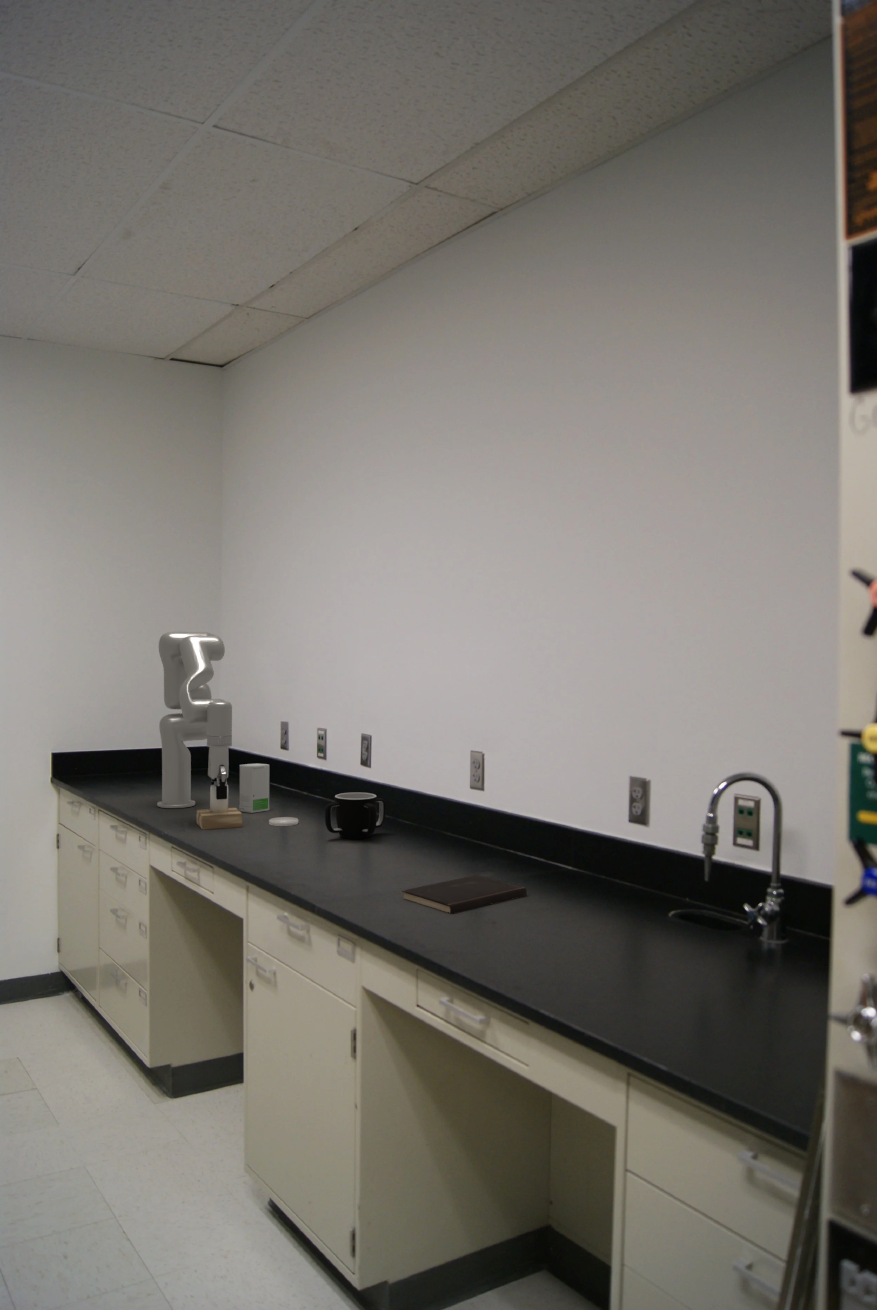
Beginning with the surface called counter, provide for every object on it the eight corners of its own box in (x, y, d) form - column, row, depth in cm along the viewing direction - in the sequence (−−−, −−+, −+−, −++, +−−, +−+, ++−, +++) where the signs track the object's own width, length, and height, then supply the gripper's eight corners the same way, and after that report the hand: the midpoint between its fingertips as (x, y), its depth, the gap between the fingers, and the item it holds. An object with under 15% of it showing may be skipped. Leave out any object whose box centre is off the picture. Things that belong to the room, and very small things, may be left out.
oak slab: (196, 822, 303) (196, 809, 303) (235, 820, 307) (235, 807, 307) (202, 829, 292) (202, 816, 292) (242, 826, 296) (242, 813, 296)
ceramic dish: (266, 822, 304) (266, 818, 304) (294, 820, 308) (294, 816, 308) (272, 827, 296) (272, 823, 296) (301, 825, 299) (301, 821, 299)
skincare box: (251, 813, 319) (251, 766, 319) (237, 811, 323) (238, 764, 323) (270, 810, 326) (270, 763, 326) (256, 808, 330) (257, 762, 330)
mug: (390, 833, 288) (391, 792, 288) (372, 843, 273) (373, 801, 272) (339, 829, 292) (339, 790, 292) (318, 840, 277) (318, 798, 277)
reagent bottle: (208, 810, 301) (209, 780, 301) (226, 809, 303) (226, 780, 303) (211, 813, 296) (211, 783, 296) (229, 812, 298) (229, 782, 298)
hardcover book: (402, 900, 215) (402, 890, 215) (477, 884, 230) (477, 874, 230) (450, 916, 203) (450, 905, 203) (526, 898, 218) (526, 887, 218)
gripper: (202, 738, 306) (202, 792, 306) (211, 744, 290) (211, 801, 290) (226, 738, 309) (226, 791, 309) (236, 743, 293) (236, 800, 293)
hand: (218, 796), depth 300 cm, fingers open, 9 cm apart
